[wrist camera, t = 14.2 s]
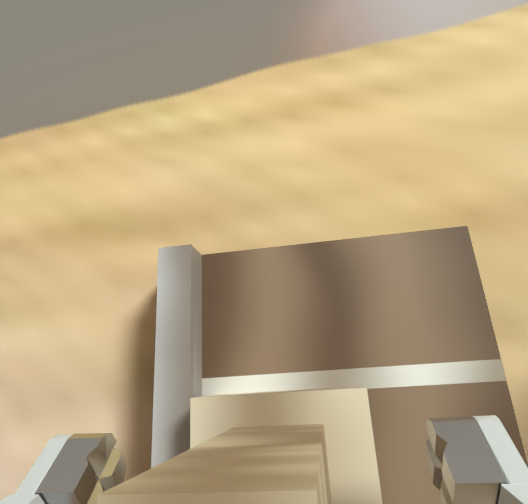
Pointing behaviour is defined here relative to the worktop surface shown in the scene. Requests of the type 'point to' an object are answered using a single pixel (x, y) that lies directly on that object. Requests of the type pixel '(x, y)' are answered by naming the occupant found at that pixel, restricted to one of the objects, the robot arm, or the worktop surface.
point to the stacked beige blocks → (267, 452)
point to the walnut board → (334, 339)
